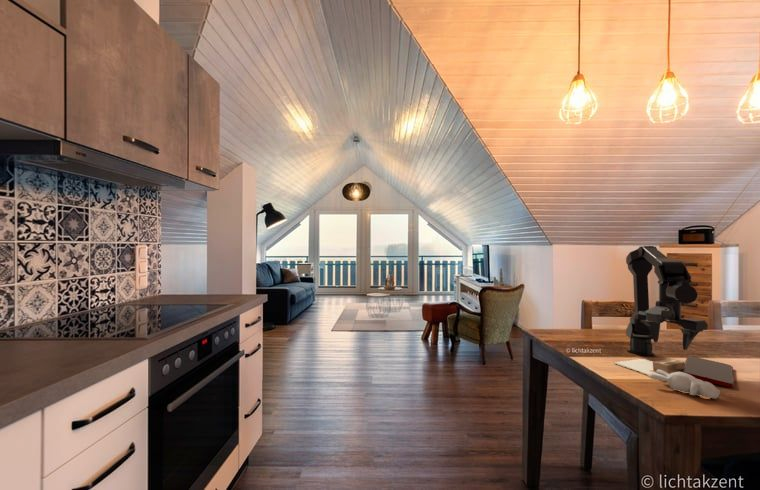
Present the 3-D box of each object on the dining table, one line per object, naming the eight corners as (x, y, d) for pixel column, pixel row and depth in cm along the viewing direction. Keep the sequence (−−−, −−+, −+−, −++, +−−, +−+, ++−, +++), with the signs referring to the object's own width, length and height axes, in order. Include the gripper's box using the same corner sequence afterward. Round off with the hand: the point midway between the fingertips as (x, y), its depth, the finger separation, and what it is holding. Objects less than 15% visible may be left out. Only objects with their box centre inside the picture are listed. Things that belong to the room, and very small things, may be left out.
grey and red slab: (733, 364, 125) (734, 384, 107) (732, 369, 125) (733, 389, 107) (687, 354, 133) (680, 371, 115) (686, 358, 133) (680, 375, 115)
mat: (614, 364, 130) (614, 362, 130) (643, 360, 133) (643, 358, 133) (663, 381, 113) (663, 379, 113) (694, 376, 117) (694, 374, 117)
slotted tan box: (670, 367, 123) (669, 358, 123) (685, 371, 118) (684, 361, 119) (653, 371, 120) (652, 361, 121) (667, 374, 116) (666, 365, 116)
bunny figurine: (715, 390, 97) (649, 368, 109) (712, 408, 97) (646, 384, 109) (723, 382, 102) (660, 362, 114) (720, 399, 103) (657, 377, 115)
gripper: (625, 295, 126) (624, 340, 126) (683, 304, 108) (682, 356, 108) (648, 294, 129) (648, 338, 129) (709, 302, 111) (708, 353, 111)
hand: (669, 345), depth 119 cm, fingers open, 9 cm apart
